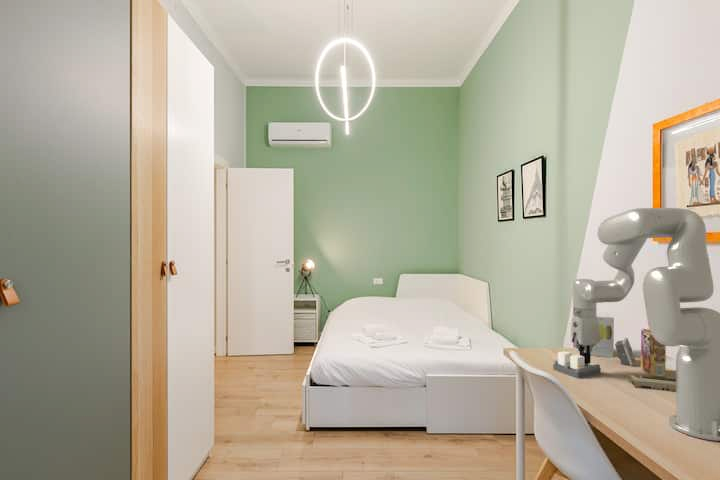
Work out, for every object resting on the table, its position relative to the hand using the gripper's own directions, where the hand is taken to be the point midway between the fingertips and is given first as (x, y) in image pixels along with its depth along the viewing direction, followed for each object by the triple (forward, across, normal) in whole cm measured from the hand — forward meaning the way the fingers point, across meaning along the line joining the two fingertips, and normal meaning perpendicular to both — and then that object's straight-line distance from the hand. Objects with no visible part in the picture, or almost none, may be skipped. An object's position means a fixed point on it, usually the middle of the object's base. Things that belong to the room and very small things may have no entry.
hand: (585, 362), depth 149 cm
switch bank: (+4, -1, +2) cm, 5 cm away
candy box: (+4, +22, -10) cm, 25 cm away
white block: (+2, -4, 0) cm, 4 cm away
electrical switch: (+4, +25, +2) cm, 26 cm away
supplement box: (+4, +27, +15) cm, 31 cm away
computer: (+5, +10, -19) cm, 22 cm away
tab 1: (+2, -4, +5) cm, 7 cm away
